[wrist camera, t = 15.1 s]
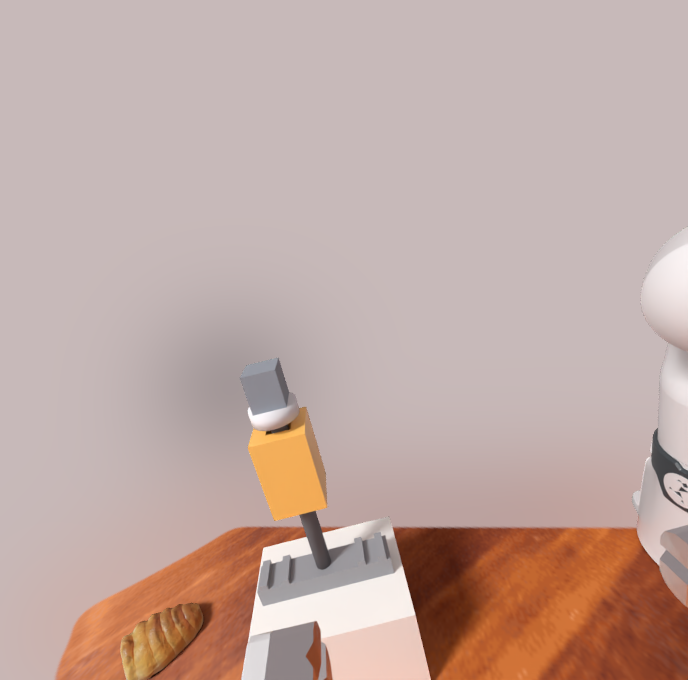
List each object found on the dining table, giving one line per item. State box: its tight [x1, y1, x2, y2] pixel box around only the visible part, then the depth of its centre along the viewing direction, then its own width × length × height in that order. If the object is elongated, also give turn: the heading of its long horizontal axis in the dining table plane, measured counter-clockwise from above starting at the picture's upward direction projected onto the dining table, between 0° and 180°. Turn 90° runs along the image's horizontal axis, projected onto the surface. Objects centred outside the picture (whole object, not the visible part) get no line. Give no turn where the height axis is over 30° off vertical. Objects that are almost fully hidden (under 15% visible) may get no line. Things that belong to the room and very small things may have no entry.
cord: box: [240, 358, 331, 570], centre depth 35 cm, size 4×4×25 cm
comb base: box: [248, 517, 431, 680], centre depth 40 cm, size 16×12×13 cm
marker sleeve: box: [248, 407, 327, 521], centre depth 34 cm, size 5×5×8 cm
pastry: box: [121, 603, 203, 680], centre depth 46 cm, size 9×7×4 cm
